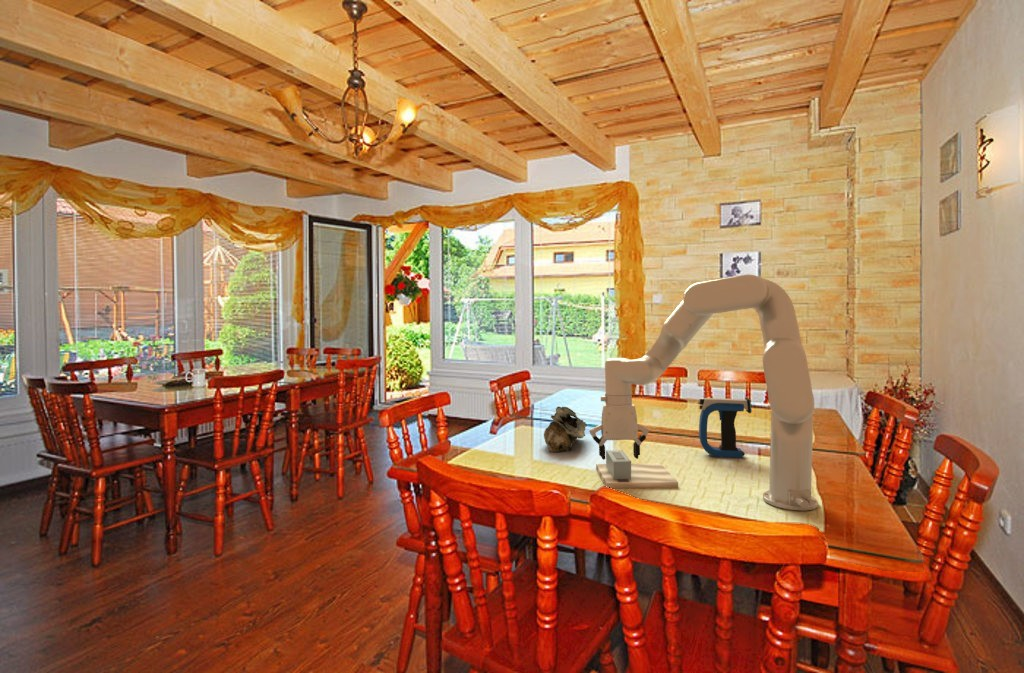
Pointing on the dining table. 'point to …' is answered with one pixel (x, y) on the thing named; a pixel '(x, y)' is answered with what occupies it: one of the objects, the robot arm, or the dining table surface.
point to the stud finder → (618, 464)
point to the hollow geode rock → (563, 430)
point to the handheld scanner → (722, 425)
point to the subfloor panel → (640, 477)
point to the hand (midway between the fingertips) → (619, 457)
